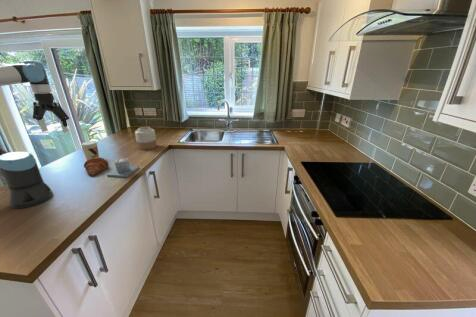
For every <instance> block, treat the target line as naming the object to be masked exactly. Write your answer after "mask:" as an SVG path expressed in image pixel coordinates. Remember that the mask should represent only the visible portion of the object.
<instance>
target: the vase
mask: <svg viewBox="0 0 476 317" xmlns="http://www.w3.org/2000/svg"><path fill="white" fill-rule="evenodd" d="M134 136H135V140H136V146H137V149H138V150H141V151H147V150H148V149H149V150H154V149H155V147H156V148H157V146H158V145H157V139H156V138H157V137H156V131H155V129H154V128H151V127H150V126H141V127H138V128H137V129H136V130H135V131H134Z"/></svg>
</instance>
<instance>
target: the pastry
mask: <svg viewBox="0 0 476 317" xmlns="http://www.w3.org/2000/svg"><path fill="white" fill-rule="evenodd" d="M109 165H110V164H109V162H108V160H106V159H104V158H102V157H99V158H92V159H90V160H87V161H85V162H84V164H83V167H84V168H85V171H86V172H87V174H88V175H89V176H91V177H94V176H97V175H99V174H100V173H102V172H104V171H105V170H107V169H108V168H109Z"/></svg>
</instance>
